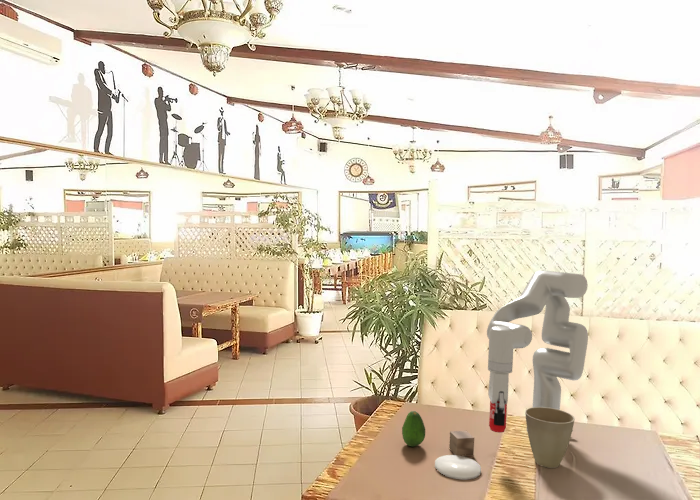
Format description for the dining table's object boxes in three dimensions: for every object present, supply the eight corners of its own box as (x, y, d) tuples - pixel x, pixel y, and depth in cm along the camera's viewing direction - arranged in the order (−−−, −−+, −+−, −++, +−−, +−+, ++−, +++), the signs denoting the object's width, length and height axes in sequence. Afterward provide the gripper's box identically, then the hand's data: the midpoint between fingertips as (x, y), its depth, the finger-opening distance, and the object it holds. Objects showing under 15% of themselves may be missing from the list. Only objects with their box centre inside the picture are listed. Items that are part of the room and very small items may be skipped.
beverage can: (506, 433, 167) (508, 396, 167) (489, 432, 169) (491, 395, 168) (505, 427, 173) (506, 391, 172) (488, 425, 174) (490, 389, 173)
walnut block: (465, 447, 181) (466, 430, 181) (473, 455, 175) (474, 437, 175) (449, 448, 180) (450, 431, 180) (456, 456, 174) (457, 438, 174)
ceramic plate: (478, 461, 171) (478, 457, 171) (483, 481, 157) (483, 477, 157) (434, 456, 173) (434, 453, 173) (435, 476, 159) (435, 472, 159)
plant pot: (569, 457, 177) (573, 410, 176) (573, 477, 163) (576, 426, 162) (522, 449, 182) (525, 403, 181) (521, 468, 168) (524, 418, 167)
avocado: (398, 447, 179) (400, 412, 178) (405, 439, 186) (406, 405, 185) (421, 452, 176) (423, 417, 175) (427, 443, 183) (429, 409, 182)
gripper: (485, 357, 178) (482, 411, 179) (491, 373, 161) (488, 431, 162) (508, 359, 177) (505, 412, 178) (517, 374, 160) (514, 433, 161)
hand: (497, 421), depth 170 cm, fingers closed on beverage can, 5 cm apart
